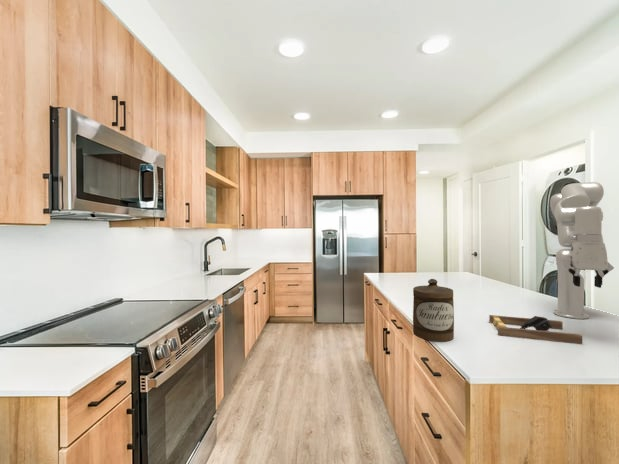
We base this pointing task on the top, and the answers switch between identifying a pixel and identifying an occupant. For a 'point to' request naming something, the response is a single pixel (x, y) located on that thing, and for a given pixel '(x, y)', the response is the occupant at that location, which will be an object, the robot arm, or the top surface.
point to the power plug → (538, 323)
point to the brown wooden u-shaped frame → (532, 334)
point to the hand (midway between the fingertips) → (587, 286)
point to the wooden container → (433, 312)
